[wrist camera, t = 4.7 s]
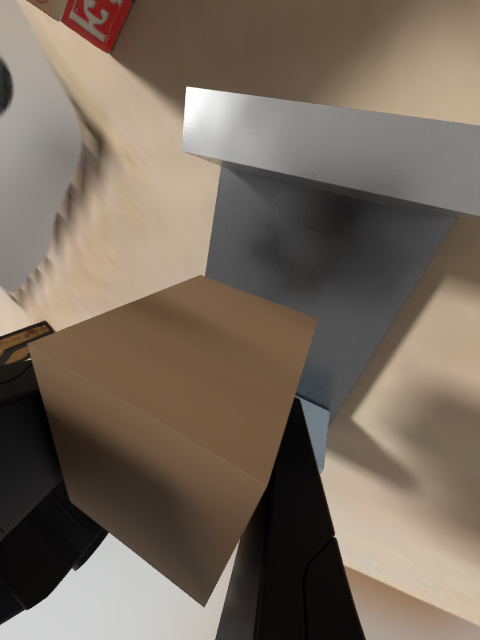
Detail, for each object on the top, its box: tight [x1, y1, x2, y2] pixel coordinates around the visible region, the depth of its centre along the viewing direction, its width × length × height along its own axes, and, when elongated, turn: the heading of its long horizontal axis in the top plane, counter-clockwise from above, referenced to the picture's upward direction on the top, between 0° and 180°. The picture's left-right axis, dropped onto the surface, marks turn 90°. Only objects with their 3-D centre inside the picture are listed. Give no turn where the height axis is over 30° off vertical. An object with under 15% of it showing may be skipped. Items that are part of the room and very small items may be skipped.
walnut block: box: [27, 275, 318, 607], centre depth 6 cm, size 5×4×5 cm
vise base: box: [182, 87, 480, 427], centre depth 14 cm, size 18×12×6 cm, turn 164°
